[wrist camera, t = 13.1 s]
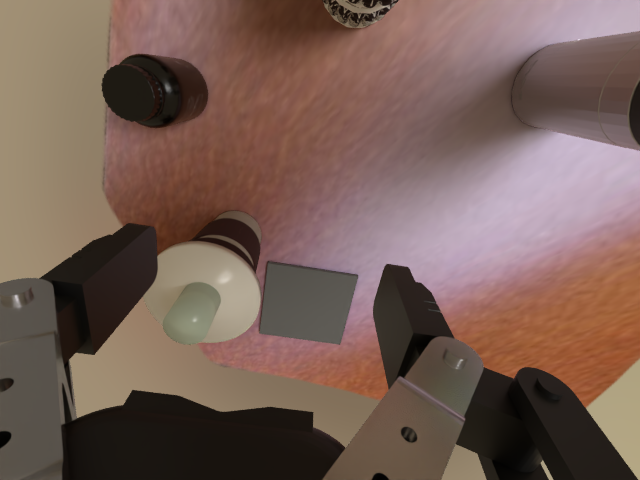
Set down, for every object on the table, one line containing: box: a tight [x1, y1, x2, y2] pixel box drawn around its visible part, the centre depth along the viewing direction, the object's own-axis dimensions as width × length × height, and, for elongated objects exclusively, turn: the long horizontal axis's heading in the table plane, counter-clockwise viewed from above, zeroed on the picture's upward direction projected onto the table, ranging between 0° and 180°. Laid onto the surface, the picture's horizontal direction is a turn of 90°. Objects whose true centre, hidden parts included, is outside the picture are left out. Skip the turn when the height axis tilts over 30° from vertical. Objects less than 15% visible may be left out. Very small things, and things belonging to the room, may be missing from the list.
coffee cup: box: [188, 211, 262, 274], centre depth 42 cm, size 10×10×15 cm
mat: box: [260, 261, 358, 344], centre depth 54 cm, size 14×14×1 cm
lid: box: [143, 241, 262, 345], centre depth 33 cm, size 12×12×6 cm
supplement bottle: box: [102, 54, 208, 128], centre depth 35 cm, size 7×7×12 cm
